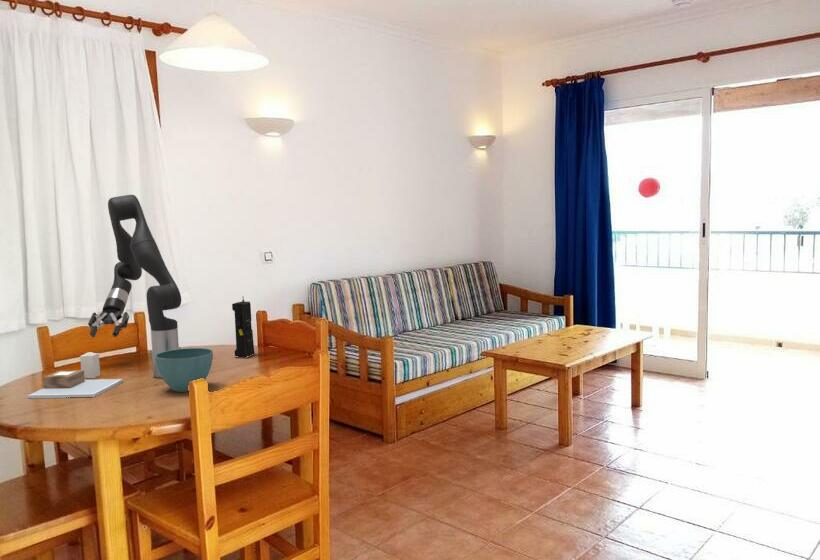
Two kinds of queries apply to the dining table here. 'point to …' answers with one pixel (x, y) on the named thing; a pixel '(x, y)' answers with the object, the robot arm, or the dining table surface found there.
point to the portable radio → (243, 329)
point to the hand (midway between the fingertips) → (103, 335)
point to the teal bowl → (184, 366)
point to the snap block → (90, 364)
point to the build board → (79, 389)
